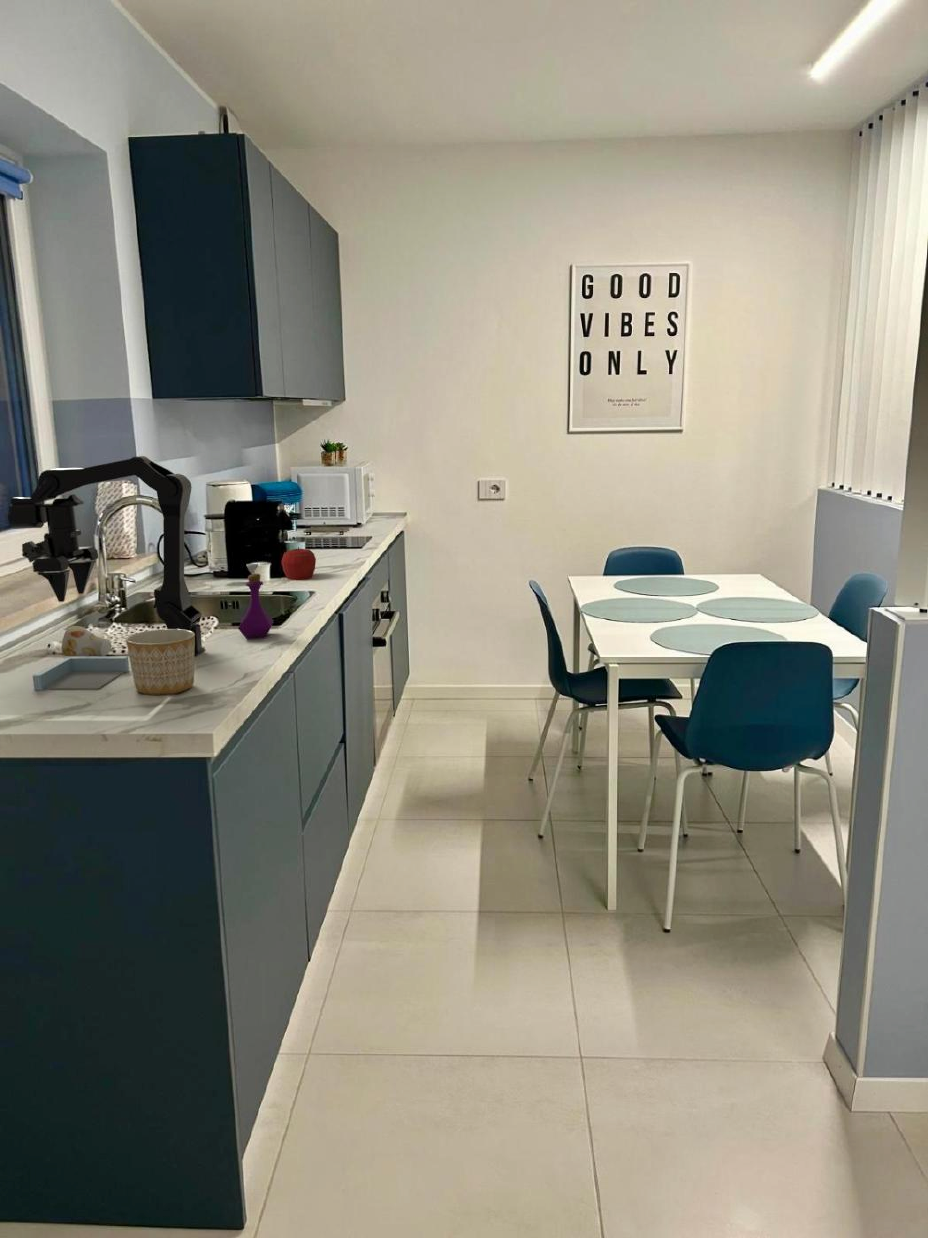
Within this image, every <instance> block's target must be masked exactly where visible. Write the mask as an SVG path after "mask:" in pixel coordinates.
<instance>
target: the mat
mask: <svg viewBox="0 0 928 1238" xmlns="http://www.w3.org/2000/svg"><path fill="white" fill-rule="evenodd" d="M124 673H125V672H124V671H74V672H72V673H70V674H68V675H67V676H65V677H63V678H62V679H60V680H58V681H57V682H55V683H53V684H51V685H50V686H48V687H46V688H45V690H46V691H48V690H49V691H50V690H52V691H53V690H54V691H55V690H56V691H57V690H62V691H63V690H64V691H65V690H68V691H69V690H72V691H73V690H75V691H77V690H82V691H83V690H86V691H87V690H88V691H89V690H90V691H91V690H93V691H94V690H97V691H99V690H100V689H102V688H103V687H105V686H107V685H108V684H110V683H111V682H112V681H114V680H115V679H117V678H118V677H120V676H121V675H123V674H124Z"/></svg>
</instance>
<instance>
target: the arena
mask: <svg viewBox="0 0 928 1238" xmlns="http://www.w3.org/2000/svg"><path fill="white" fill-rule="evenodd" d="M74 671H124V673H127V672H129V671H130V667H129V657H128V656H87V657H67V656H64V657H63V658H62V659H60V660H58V661H56V662H53V664H51V665H49V666H47V667H45V668H43V669H41V670H40V671H38V672H36V673H35V674H33V675H32V683H33V690H34V691H43V690H46V687H48V686H50V685H52V684H53V683H55V682H57V681H58V680H60V679H62V678H63V677H65V676H67V675H68V674H70V673H72V672H74Z"/></svg>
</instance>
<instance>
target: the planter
mask: <svg viewBox="0 0 928 1238" xmlns="http://www.w3.org/2000/svg"><path fill="white" fill-rule="evenodd" d="M126 646H127V647H126V648H127V652H128V656H129V657H128V659H129V662H130V668H131V673H132V677H133V679H132V680H133V683H134V684H133V685H134V687H135V689H136V690H137V691H138V692H139V693H140V694H144V695H150V696H162V695H163V696H164V695H170V694H171V695H172V694H178V693H181V692H184V691H186V690H188V689H190V688H191V687H192V686H193V684H194V682H195V656H194V649H195V634H194V632H192V631H189V630H183V629H168V628H165V629H164V628H163V629H162V628H161V629H153V630H144V631H141V632H136V633H133V634H131V635H129V636H127V637H126Z"/></svg>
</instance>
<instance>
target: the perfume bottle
mask: <svg viewBox="0 0 928 1238" xmlns="http://www.w3.org/2000/svg"><path fill="white" fill-rule="evenodd" d="M246 567H247V570H248V571H249V573H250V574H249V575H248V576H247V579H248V581H247V582H246V583H245V585H246V586H247V587H248V589H249V590H250V599H249V600H250V602H249V606H248V609H247V611H246V613H245V615H244V617H243V618H242V620H241V622H240V624H239V625H238V627H237V628H238V629H237V630H239V631H240V633H241V634H242V636H243V638H245V639H246V640H254V639H256V640H257V639H266V638H267V636H268V634H269V632H270V630H271V628H272V627H273V624H274V619H272V618H271V616H269V615H268V614H267V612H266V611H265V610H264V608H263V607H262V604H261V601H260V588H261V586H263V585H264V582H263V581H261V574H260V573H255V571H256V570H257V568H258V567H259V564H258V563H246Z"/></svg>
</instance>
